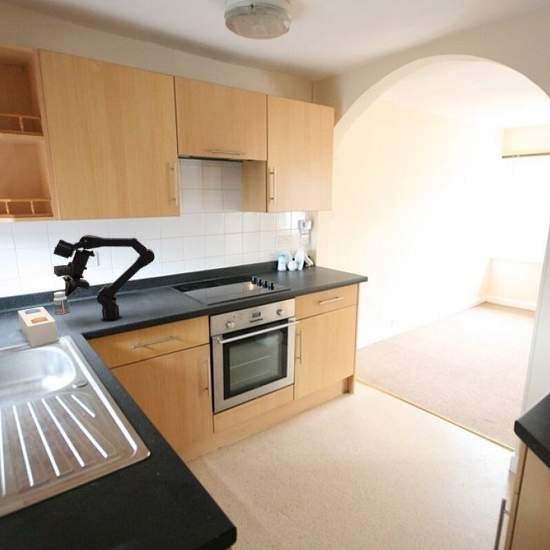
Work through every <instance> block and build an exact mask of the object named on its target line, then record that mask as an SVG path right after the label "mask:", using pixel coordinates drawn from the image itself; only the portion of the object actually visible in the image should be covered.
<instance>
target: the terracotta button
mask: <svg viewBox="0 0 550 550" xmlns="http://www.w3.org/2000/svg"><path fill="white" fill-rule="evenodd" d="M43 321H46V318H45V317H39V318H35V319H33V323H38V322H43Z"/></svg>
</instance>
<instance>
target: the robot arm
mask: <svg viewBox="0 0 550 550" xmlns="http://www.w3.org/2000/svg"><path fill="white" fill-rule="evenodd" d="M102 247H107V248H108V247H110V248H112V247H115V248H132V249H133V250H134V252H136V253H137V254H138V257H136V260H135V261H134V262H133V263H132V264H131V265H130V266H129V267H127V269H126V270H125V271H124V272H123V273H122V274H120V275H119V277H118V278H116V279H115V280H114V281H113V282H112V283H110V284H107V283H105V285H103V286H102V288H100V289H98V292H97V296H96V301H97V304H99V305H101V313H102V314H101V315H102V318H101V321H104V322H105V321H107V322H115V321H117V320H118V319H121V318H122V317H123V315H120V307H119V304H117V302H118V297H116V296H115V295H116V294H117V293H118V291H120V289H121V288H122V287H123V286H125V285H126V284H127V282H128V281H130V280H131V279H132V278H133V277H134V276H135V275H136V274H137V273H138V272H139V271H140V270H141V269H143V268H145V267H147V266H148V265H150V264H151V263H153V262H154V261H155V259H156V257H155V252H154V251H153V250H152V249H150V248H147V247H146V246H145V245H144V244H143V243H141V241H139V240H138V239H137V237H103V236H97V235H93V234H85V235H83V236H81V238H80V239H79V241H77V242H75V243H71V242H68V241H66V240H64V239H59V240H58V243H57V244H56V246H55V247H54V250H53V255H55V256H58V257H62V258H65V259H69V258H72V257H73V258H72V260H71V261H69V262H68V263H67V264H60V265H54V266H53V275H55V276H56V277H59V278H60V277H62V280H63V281H64V285H65V287H64V292H65V296H66V297H69V296H70V295H71V294H72V293H73V292H74V291H76V290H77V289H84V290H85V289H86V290H89V288H90V286H91V284H90V282H88V281H87V280H86V279H84V278H85V276H84V272H85V271H87V269H88V267H87V264H88V262H89V258H90V257H92V258H94V257H95V256H96V253H95V252H94V249H97V248H98V249H99V248H102ZM92 249H93V250H92Z"/></svg>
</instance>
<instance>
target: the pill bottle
mask: <svg viewBox="0 0 550 550" xmlns="http://www.w3.org/2000/svg"><path fill="white" fill-rule="evenodd" d="M53 296H54V298H53V305H54V311H55V314H56V315H64V313H65V314H67V313H69V312H70V309H69V302H68V296H65V291H57V292H54V293H53Z"/></svg>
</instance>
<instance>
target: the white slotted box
mask: <svg viewBox="0 0 550 550" xmlns="http://www.w3.org/2000/svg"><path fill="white" fill-rule="evenodd" d="M31 309H39V312H37V313H31V314H27V313H26V311H27V310H31ZM17 313H18V320H19V325H20V330H21V332H22V333H23V335H24V337H25V339H26V340H27V342H28V344H29V346H30V347H31V348H34V347H37V346H41V345H47V344H50V343H51V344H52V343H56V342H59V335H58V329H57V321H56V320H55V318H54V317H53V316H52V315H50V313H49V312H48V310H47V309H45V307H43V306H39V307H33V308H27V309H22V310H17ZM39 317H45V318H46V321H43V322H38V323H33V319H35V318H39Z"/></svg>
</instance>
